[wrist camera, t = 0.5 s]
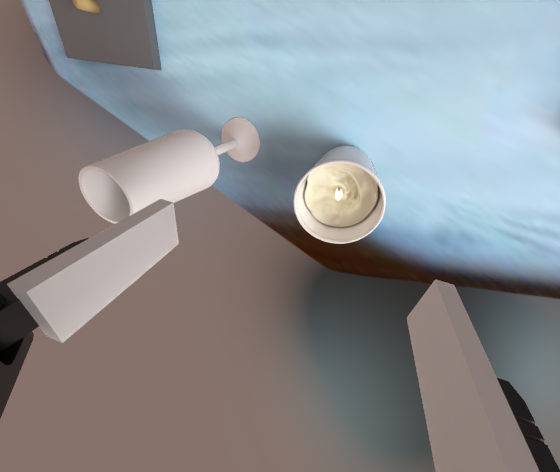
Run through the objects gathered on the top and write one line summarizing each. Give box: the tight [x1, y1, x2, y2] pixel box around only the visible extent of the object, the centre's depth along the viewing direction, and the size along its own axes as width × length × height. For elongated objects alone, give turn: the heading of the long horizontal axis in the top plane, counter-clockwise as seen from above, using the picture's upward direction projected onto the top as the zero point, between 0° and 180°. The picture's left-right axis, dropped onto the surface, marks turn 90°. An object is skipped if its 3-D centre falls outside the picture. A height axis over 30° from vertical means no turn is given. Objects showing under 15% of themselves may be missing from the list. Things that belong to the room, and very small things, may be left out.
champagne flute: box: [79, 117, 260, 224], centre depth 27 cm, size 7×7×24 cm
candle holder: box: [294, 145, 386, 244], centre depth 30 cm, size 10×10×12 cm
